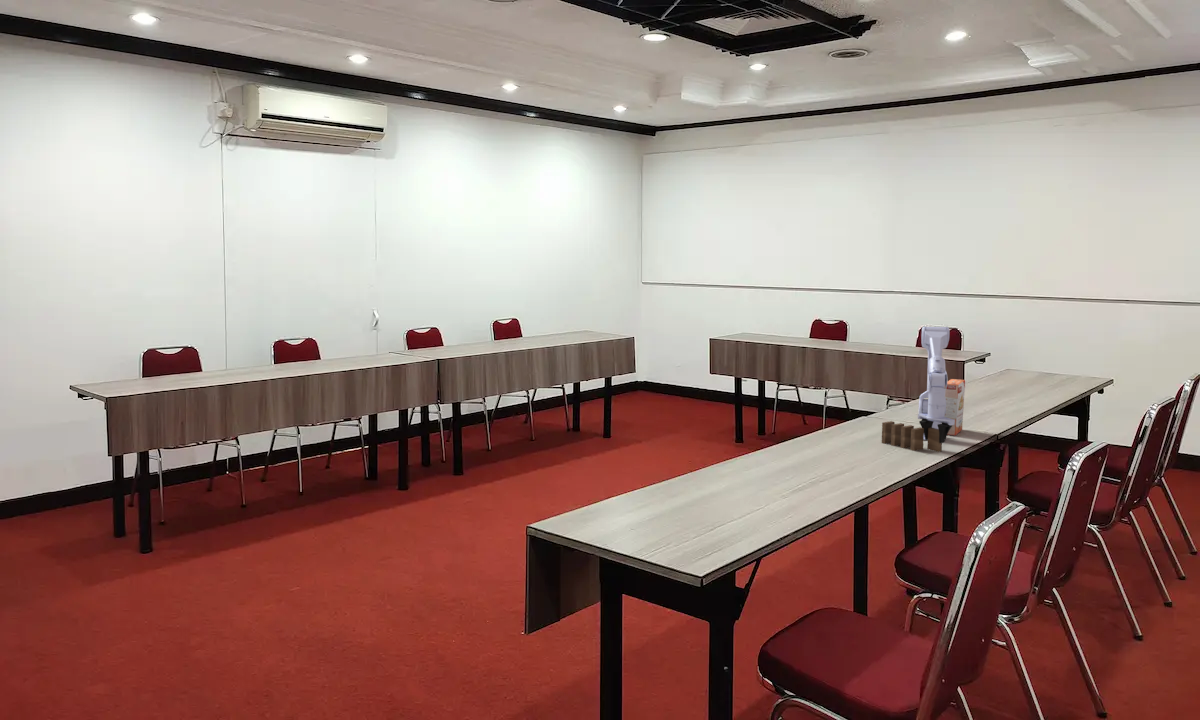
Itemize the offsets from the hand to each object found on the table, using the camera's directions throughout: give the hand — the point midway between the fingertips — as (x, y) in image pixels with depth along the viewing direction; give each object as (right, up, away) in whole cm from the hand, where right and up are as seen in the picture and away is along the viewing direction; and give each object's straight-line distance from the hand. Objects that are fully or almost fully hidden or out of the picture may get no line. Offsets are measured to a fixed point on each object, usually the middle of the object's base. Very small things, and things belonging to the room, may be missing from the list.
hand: (934, 441), depth 314 cm
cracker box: (+19, 0, +30) cm, 35 cm away
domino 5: (0, -3, 0) cm, 3 cm away
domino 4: (-6, -3, +1) cm, 7 cm away
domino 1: (-13, -2, +13) cm, 18 cm away
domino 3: (-8, -3, +5) cm, 10 cm away
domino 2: (-11, -2, +9) cm, 14 cm away
